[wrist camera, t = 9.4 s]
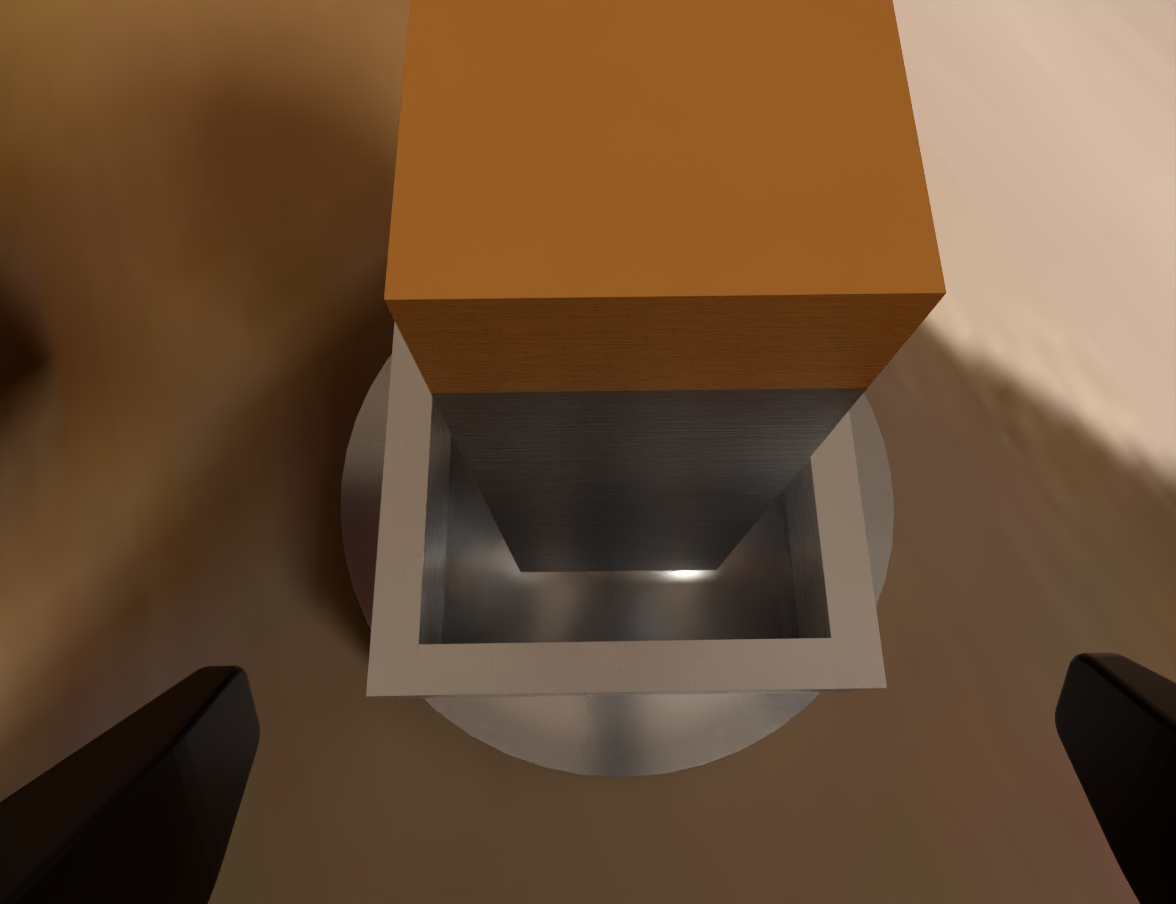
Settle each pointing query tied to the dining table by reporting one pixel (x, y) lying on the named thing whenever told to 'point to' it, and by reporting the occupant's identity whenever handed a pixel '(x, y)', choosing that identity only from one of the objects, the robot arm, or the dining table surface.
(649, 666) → the square socket
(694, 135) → the orange square peg
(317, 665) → the dining table surface
